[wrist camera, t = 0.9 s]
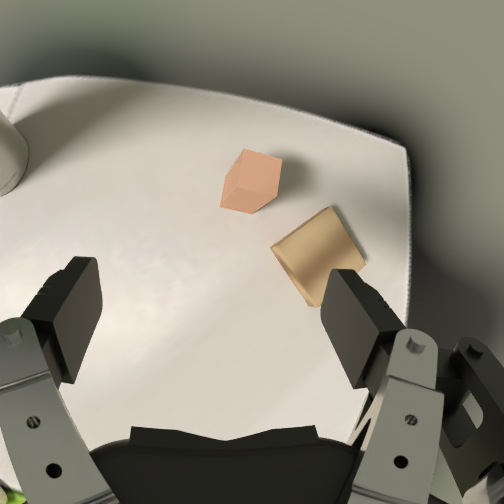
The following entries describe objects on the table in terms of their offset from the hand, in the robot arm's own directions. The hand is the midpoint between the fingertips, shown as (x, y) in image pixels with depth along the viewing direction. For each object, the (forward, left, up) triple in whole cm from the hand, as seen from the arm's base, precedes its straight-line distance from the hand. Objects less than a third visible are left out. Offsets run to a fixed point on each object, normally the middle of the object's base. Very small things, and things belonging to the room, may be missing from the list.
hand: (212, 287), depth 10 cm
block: (-4, +12, -26) cm, 29 cm away
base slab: (+8, +16, -27) cm, 32 cm away
